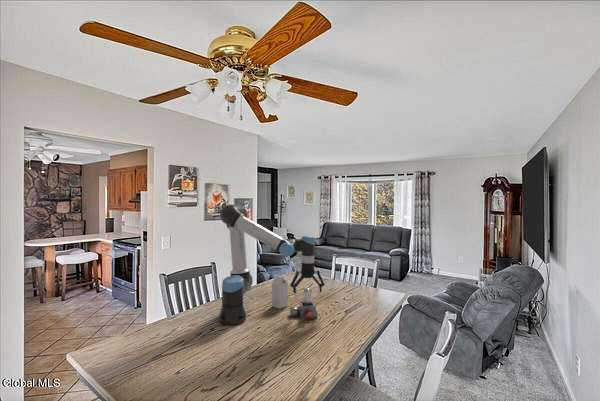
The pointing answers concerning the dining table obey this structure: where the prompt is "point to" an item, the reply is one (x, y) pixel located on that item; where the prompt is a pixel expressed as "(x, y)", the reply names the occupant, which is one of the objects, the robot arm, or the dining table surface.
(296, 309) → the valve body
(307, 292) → the silver rounded cylinder
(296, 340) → the dining table surface
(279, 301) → the milk carton
